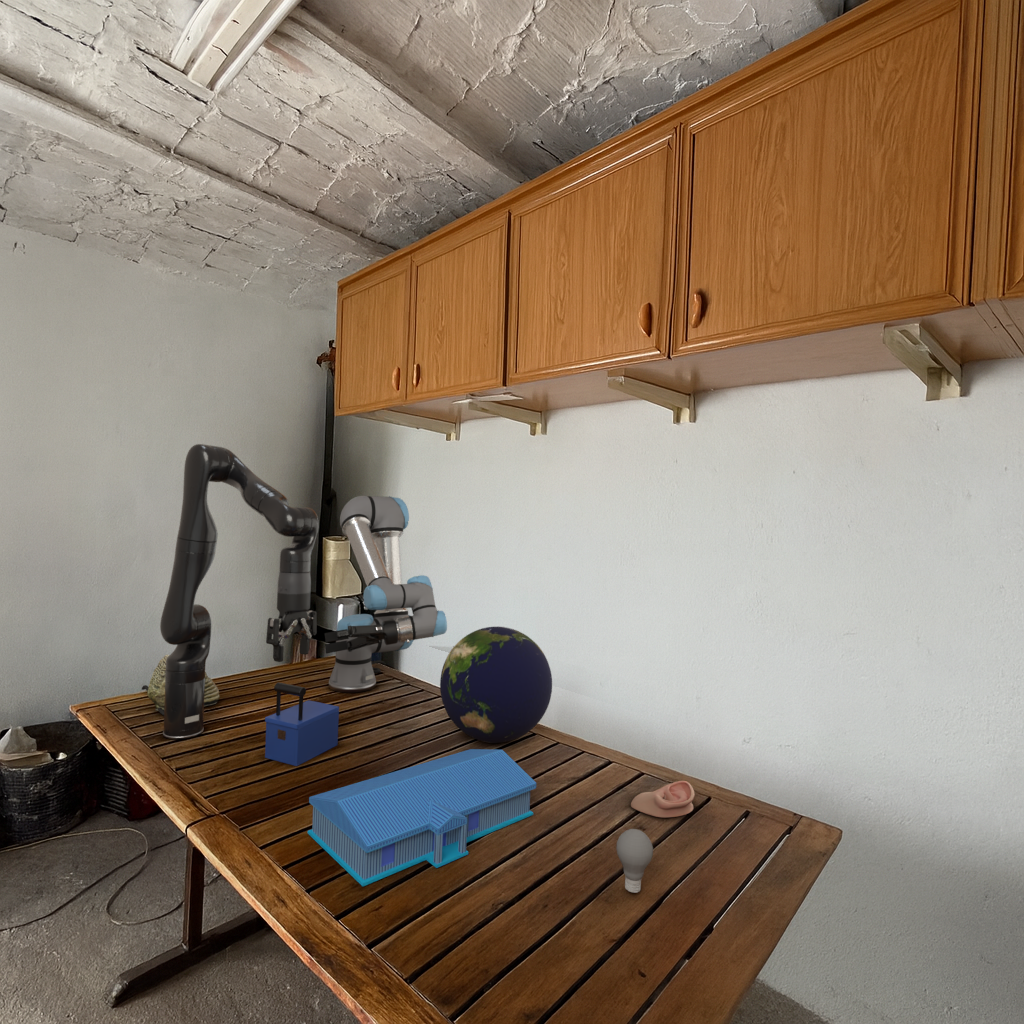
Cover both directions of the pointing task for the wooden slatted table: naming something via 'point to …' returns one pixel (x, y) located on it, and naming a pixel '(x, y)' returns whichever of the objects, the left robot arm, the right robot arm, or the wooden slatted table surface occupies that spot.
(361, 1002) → the wooden slatted table surface
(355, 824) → the model building
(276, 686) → the lid
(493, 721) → the globe
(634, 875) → the light bulb
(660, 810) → the anatomical model
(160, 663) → the fossil
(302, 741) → the chest
